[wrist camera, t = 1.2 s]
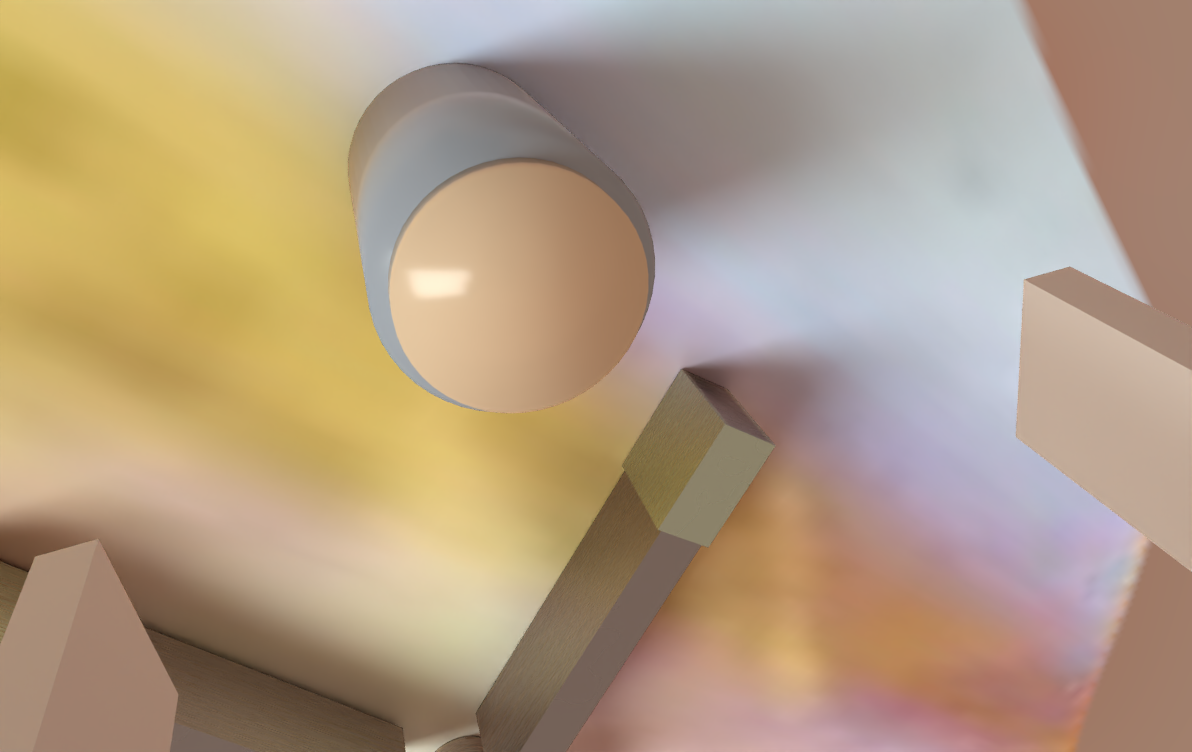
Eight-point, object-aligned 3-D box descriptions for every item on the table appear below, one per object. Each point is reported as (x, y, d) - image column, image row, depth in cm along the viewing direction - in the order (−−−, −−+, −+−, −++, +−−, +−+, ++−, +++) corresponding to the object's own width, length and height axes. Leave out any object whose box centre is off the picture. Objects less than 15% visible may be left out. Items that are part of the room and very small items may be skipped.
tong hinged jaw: (405, 721, 36) (416, 804, 33) (373, 758, 36) (380, 844, 33) (-67, 534, 28) (-115, 619, 25) (-101, 584, 29) (-153, 674, 26)
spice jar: (356, 47, 26) (383, 127, 17) (574, 79, 28) (694, 165, 19) (340, 263, 28) (357, 425, 20) (542, 279, 30) (637, 433, 22)
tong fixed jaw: (488, 815, 40) (512, 929, 35) (387, 796, 38) (399, 914, 33) (754, 401, 34) (820, 476, 30) (652, 356, 32) (706, 428, 28)
